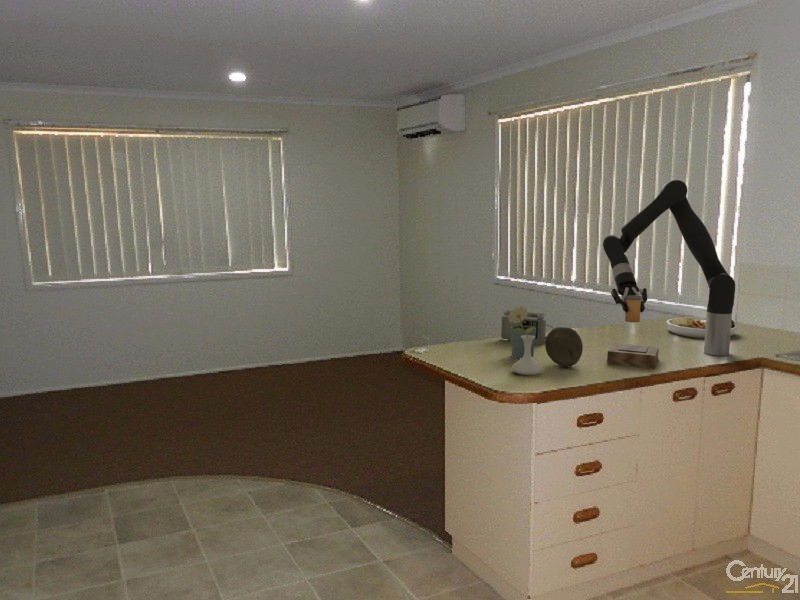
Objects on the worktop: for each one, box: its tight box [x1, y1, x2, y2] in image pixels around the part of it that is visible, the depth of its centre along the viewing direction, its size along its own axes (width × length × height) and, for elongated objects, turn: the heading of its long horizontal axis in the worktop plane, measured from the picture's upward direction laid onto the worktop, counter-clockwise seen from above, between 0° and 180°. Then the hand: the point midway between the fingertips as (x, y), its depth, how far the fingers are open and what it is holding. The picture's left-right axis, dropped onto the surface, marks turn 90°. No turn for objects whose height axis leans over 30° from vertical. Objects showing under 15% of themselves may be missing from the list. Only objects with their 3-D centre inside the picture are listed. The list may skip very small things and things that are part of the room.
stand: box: [606, 342, 660, 370], centre depth 245 cm, size 17×16×5 cm
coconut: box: [544, 326, 584, 368], centre depth 238 cm, size 14×14×15 cm
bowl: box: [666, 317, 738, 339], centre depth 298 cm, size 30×30×8 cm
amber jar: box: [624, 295, 642, 323], centre depth 244 cm, size 6×6×10 cm
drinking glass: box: [510, 326, 536, 359], centre depth 253 cm, size 10×10×12 cm
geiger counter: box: [500, 309, 555, 345], centre depth 280 cm, size 14×6×25 cm
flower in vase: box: [508, 305, 544, 376], centre depth 226 cm, size 13×11×25 cm
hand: (634, 311), depth 243 cm, fingers closed on amber jar, 5 cm apart
